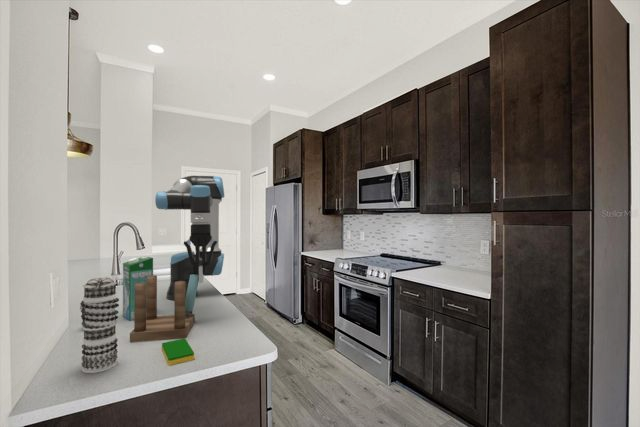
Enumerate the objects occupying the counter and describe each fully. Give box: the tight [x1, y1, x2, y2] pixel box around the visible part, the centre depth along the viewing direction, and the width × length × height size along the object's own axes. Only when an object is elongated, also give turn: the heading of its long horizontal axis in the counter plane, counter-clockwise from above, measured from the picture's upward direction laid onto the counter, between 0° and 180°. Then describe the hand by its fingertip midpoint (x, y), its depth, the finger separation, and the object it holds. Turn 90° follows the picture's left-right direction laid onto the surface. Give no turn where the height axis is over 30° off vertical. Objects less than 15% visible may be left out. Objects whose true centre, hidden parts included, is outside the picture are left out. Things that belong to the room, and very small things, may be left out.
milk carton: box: [122, 255, 154, 322], centre depth 137 cm, size 9×9×25 cm
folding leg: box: [185, 274, 199, 312], centre depth 128 cm, size 4×4×14 cm
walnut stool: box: [129, 274, 196, 343], centre depth 120 cm, size 19×18×19 cm
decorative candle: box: [79, 277, 120, 374], centre depth 92 cm, size 9×9×25 cm
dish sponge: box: [161, 338, 195, 366], centre depth 100 cm, size 7×14×2 cm, turn 34°
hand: (201, 282), depth 128 cm, fingers closed
